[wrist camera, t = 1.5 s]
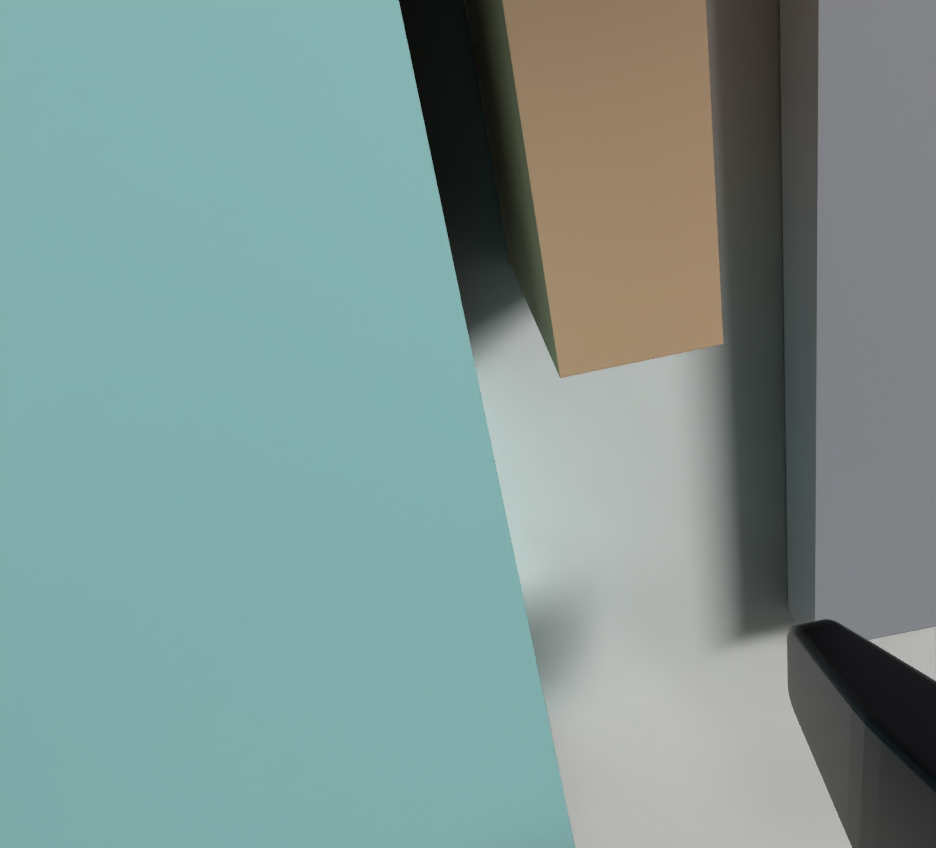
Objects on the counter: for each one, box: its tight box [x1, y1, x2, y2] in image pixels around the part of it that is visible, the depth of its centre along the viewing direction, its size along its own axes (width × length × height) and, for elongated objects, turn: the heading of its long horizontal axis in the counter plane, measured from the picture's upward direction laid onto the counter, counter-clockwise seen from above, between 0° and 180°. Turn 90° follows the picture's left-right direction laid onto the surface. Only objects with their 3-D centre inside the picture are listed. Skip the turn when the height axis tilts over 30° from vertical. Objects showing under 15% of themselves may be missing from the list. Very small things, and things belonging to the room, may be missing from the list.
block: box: [0, 0, 575, 848], centre depth 7 cm, size 12×4×5 cm, turn 11°
